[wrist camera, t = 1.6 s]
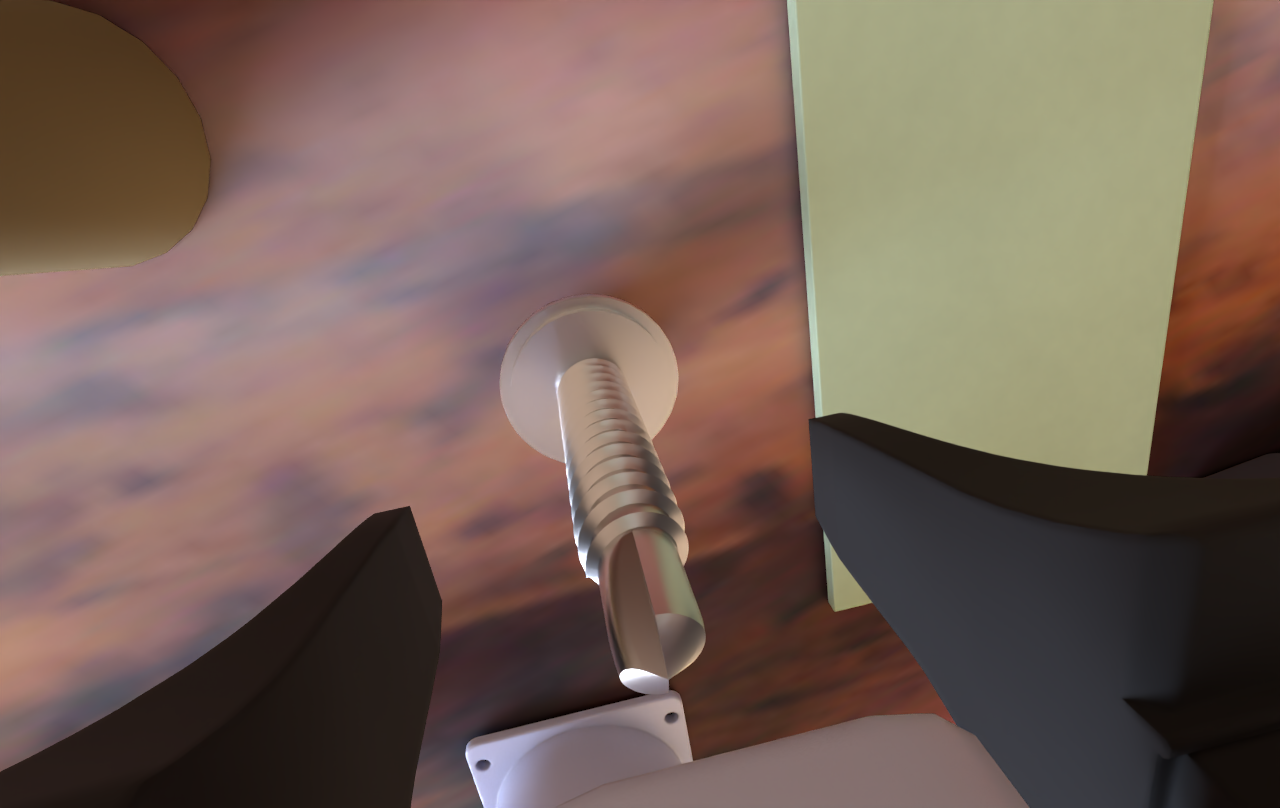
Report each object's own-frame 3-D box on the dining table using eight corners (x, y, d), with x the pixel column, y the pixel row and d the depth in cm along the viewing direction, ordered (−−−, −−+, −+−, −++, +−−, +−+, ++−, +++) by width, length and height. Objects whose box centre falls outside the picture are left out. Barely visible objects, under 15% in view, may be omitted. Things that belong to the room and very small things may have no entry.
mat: (1125, 530, 26) (1138, 538, 26) (827, 602, 25) (834, 612, 25) (1207, -89, 18) (1228, -96, 18) (784, -21, 17) (792, -25, 17)
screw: (651, 267, 20) (673, 418, 21) (484, 297, 19) (521, 449, 21) (849, 467, 8) (860, 771, 9) (415, 559, 7) (516, 859, 9)
